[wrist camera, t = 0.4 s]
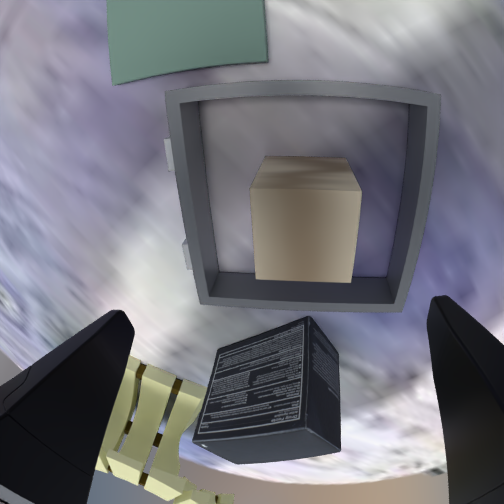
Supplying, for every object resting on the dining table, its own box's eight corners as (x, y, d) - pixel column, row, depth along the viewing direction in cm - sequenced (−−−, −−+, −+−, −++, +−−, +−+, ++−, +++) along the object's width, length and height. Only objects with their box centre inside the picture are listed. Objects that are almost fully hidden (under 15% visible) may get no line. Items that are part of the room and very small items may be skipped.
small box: (253, 382, 31) (235, 467, 23) (215, 348, 29) (185, 441, 20) (341, 355, 27) (343, 455, 18) (309, 313, 25) (304, 428, 16)
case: (421, 91, 14) (440, 94, 12) (393, 286, 22) (401, 312, 19) (175, 90, 17) (154, 93, 14) (203, 279, 24) (192, 303, 22)
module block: (345, 157, 18) (361, 191, 12) (340, 228, 20) (350, 282, 15) (265, 156, 18) (249, 188, 13) (268, 226, 21) (255, 279, 16)
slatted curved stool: (73, 374, 41) (28, 456, 26) (59, 318, 32) (-11, 423, 18) (238, 443, 43) (216, 536, 28) (277, 409, 34) (254, 540, 19)
